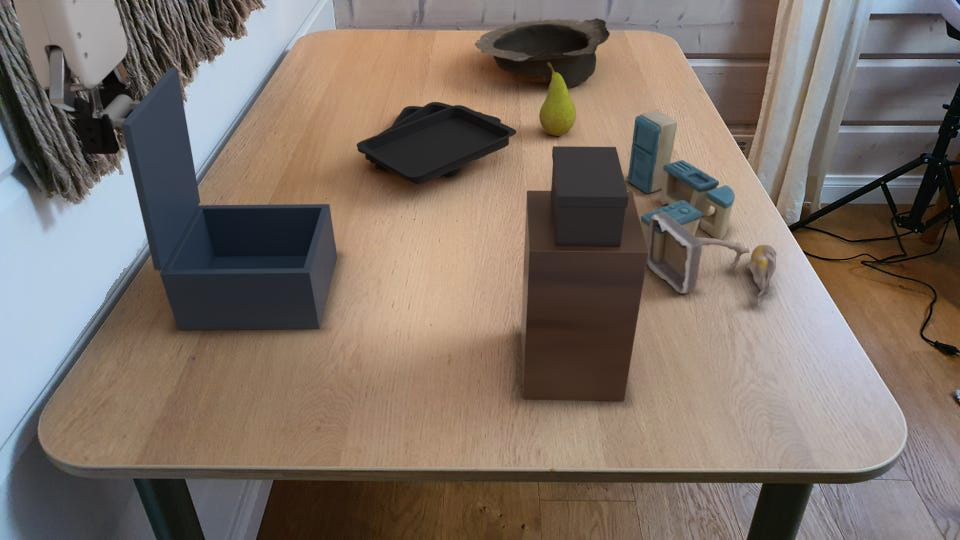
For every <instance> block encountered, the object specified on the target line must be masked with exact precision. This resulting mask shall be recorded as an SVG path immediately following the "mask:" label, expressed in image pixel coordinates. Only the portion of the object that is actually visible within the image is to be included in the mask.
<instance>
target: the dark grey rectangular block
mask: <svg viewBox="0 0 960 540" xmlns="http://www.w3.org/2000/svg"><path fill="white" fill-rule="evenodd" d="M551 150H552V152H551V157H552V159H551V160H552V169H551V170H552V172H551V186H550V187H551V188H550V191H551V200H552V211H553V222H554V232H555V243H556V246H613V247H620V246H621V240H622V232H623V225H624V218H625V210H626V207H628V200H629V196H628V192H629V191H628V188H627V184H626V180H625V177H624V173H623V169H622V165H621V162H620V156H619V154H618V150H617V147H616V146H572V145H571V146H563V145H562V146H560V145H559V146H557V145H553V146H552V149H551Z"/></svg>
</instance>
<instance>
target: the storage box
mask: <svg viewBox="0 0 960 540" xmlns="http://www.w3.org/2000/svg"><path fill="white" fill-rule="evenodd" d="M333 226H334V225H333V219H332V211H331V205H330V203H313V204H312V203H301V204H300V203H299V204H296V203H295V204H294V203H292V204H291V203H290V204H289V203H288V204H199V205H198V207H197V209H196V210H195V212H194V214H193V216H192V218H191V219H190V221H189V223H188V225H187V227H186V228H185V230H184V232H183V234H182V236H181V237H180V239H179V241H178V243H177V244H176V246H175V248H174V250H173V252H172V253H171V255H170V257H169V259H168V261H167V262H166V264H165V266H164V268H163V270H160V273H159V276H160V279H161V282H162V285H163V288H164V291H165V294H166V297H167V300H168V303H169V307H170V309H171V312H172V315H173V318H174V322H175V325H176V328H177V330H178V331H222V330H223V331H226V330H227V331H228V330H230V331H231V330H232V331H233V330H238V331H239V330H315V329H317V330H320V329H321V324H322V320H323V316H324V312H325V309H326V305H327V300H328V296H329V292H330V288H331V283H332V280H333V277H334V272H335V268H336V263H337V259H338V254H337V245H336V239H335V233H334V227H333Z"/></svg>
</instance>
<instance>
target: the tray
mask: <svg viewBox="0 0 960 540" xmlns="http://www.w3.org/2000/svg"><path fill="white" fill-rule="evenodd" d="M516 134H517V130H516V129H515V128H513V127H511V126H509V125H507V124H504V123H503V122H502V120H501V118H499V117H497V116H493V115H489V114H487V113H483V112H482V111H481V112H480V111H478V110H477V111H476V110H474V109H472V108H470V107H467V106H465V105H462V104H455V105H451V104H447V103H445V102H439V101H432V102H429V103H426V104H425V105H423V106H421V105H408V106H405V107H404V108H403V109H401V111H400V113H399V114H398V116H397V117H396V119H395V120H394V122H393V123H392V124H391V126H389V127H388V128H386V129H385V130H382V132H380V133H377V134H376V135H373V136H371V137H368V138H366V139H363V140H360V141H359V142H357V143H356V148H357V152H358V153H361V154H364V158H365V160H366V161H368V162H369V163H371V164H374V167H375V170H378V171H381V172H391V173H393V174H394V175H396V176H398V177H399V178H401V179H403V180H404V181H406V182H408V183H410V184H412V185H419V186H420V185H423V184H426V183H429V182H430V181H433V180H435V179H437V178H454V177H456V176H457V175H458V173H459V171H460V169H461V168H462V167H464V166H466V165H468V164H471V163H473V162H475V161H477V160H480V159H482V158H484V157H486V156H488V155H490V154H493V153H496V152H497V151H500V150H501V149H504V148H506V147H508V146H509V145H510V138H511V137H513V136H515V135H516Z"/></svg>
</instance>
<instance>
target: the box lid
mask: <svg viewBox="0 0 960 540" xmlns="http://www.w3.org/2000/svg"><path fill="white" fill-rule="evenodd" d="M131 110H133V111H132V112H131V113H130V115H129V116H128V117H127V118H125V117H126V116H127V114H128V113H129V112H130V111H131ZM103 114H108V115H109V118H110V121H111V124H112V127H113V130H114V131H115V129H116V128H121V131H122V135H123V139H124V144H125V148H126V153H127V157H128V162H129V167H130V171H131V174H132V178H133V182H134V187H135V188H134V189H135V192H136V196H137V200H138V205H139V210H140V213H141V216H142V222H143V227H144V231H145V235H146V240H147V244H148V248H149V253H150V257H151V261H152V267H153V269H154V271H162V270H163V268H164V266H165V264H166V262H167V261H168V259H169V257H170V255H171V253H172V252H173V250H174V248H175V246H176V244H177V243H178V241H179V239H180V237H181V236H182V234H183V232H184V230H185V228H186V227H187V225H188V223H189V221H190V219H191V218H192V216H193V214H194V212H195V210H196V209H197V207H198V205H200V204H201V198H200V192H199V187H198V181H197V174H196V169H195V163H194V158H193V152H192V146H191V139H190V134H189V127H188V122H187V116H186V110H185V104H184V99H183V93H182V86H181V82H180V76H179V69H178V67H169V68H168V69H167V71H165V72H164V73H163V75H162V76H160V78H159V80H158V81H157V82H156V83H155V84H154V85H153V86H152V87H151V88H150V90H149V91H148V92H147V94H146V95H145V96H144V97H143V98H142V99H141V100H134V101H132V99H131V98H130V97H129V96H127V95H123V94H121V95H118V96H117V97H116V98H115V99H114V100H113V101H112V102H111V103H110V104H109V105H108V106H107V107H106V109H105V110H103Z"/></svg>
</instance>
